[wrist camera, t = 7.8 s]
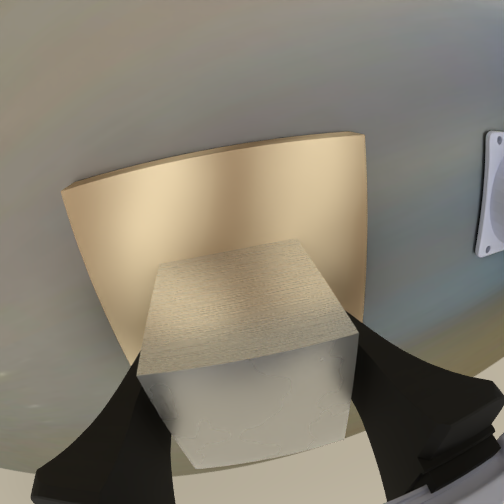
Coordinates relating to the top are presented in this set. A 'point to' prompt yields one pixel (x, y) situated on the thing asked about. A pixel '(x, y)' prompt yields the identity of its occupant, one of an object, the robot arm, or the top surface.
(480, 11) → the top surface
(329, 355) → the wood-grain grey cube
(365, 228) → the tan square panel
